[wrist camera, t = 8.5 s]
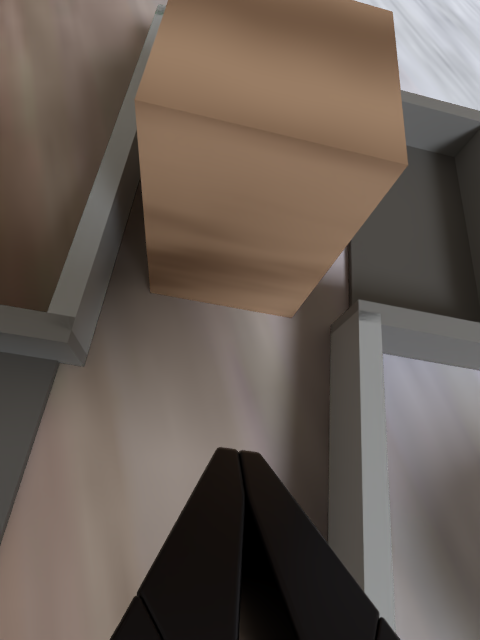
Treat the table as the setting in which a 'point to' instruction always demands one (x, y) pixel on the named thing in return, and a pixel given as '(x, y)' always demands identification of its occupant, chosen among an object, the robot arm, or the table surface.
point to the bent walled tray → (346, 332)
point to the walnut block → (264, 144)
